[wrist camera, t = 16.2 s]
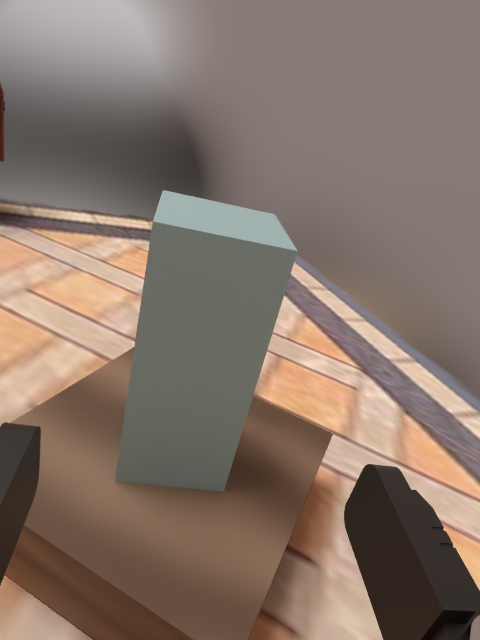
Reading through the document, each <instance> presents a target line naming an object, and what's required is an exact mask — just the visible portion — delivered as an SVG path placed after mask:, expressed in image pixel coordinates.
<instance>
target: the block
mask: <svg viewBox="0 0 480 640" xmlns="http://www.w3.org/2000/svg"><path fill="white" fill-rule="evenodd" d="M296 254H297V249H296V248H295V246H294V245H293V243H292V241H291V240H290V238H289V237H288V235H287V233H286V232H285V230H284V229H283V227H282V225H281V224H280V222H279V221H278V219H277V217H276V216H275V214H270V213H265V212H261V211H256V210H252V209H247V208H242V207H238V206H233V205H229V204H224V203H219V202H215V201H210V200H206V199H201V198H197V197H192V196H187V195H183V194H178V193H174V192H169V191H163V193H162V195H161V199H160V201H159V204H158V208H157V211H156V214H155V217H154V220H153V225H152V231H151V238H150V245H149V252H148V259H147V265H146V272H145V279H144V286H143V292H142V299H141V306H140V313H139V319H138V326H137V333H136V340H135V347H134V353H133V360H132V367H131V374H130V380H129V387H128V394H127V401H126V407H125V414H124V421H123V428H122V435H121V441H120V448H119V455H118V462H117V468H116V475H115V481H116V482H127V483H137V484H148V485H159V486H169V487H180V488H190V489H201V490H212V491H222V492H224V489H225V486H226V483H227V479H228V476H229V473H230V470H231V466H232V463H233V460H234V457H235V453H236V450H237V447H238V444H239V440H240V437H241V434H242V430H243V427H244V424H245V421H246V417H247V414H248V411H249V408H250V404H251V401H252V398H253V394H254V391H255V388H256V385H257V381H258V378H259V375H260V372H261V368H262V365H263V362H264V359H265V355H266V352H267V349H268V345H269V342H270V339H271V336H272V332H273V329H274V326H275V323H276V319H277V316H278V313H279V309H280V306H281V303H282V300H283V296H284V293H285V290H286V287H287V283H288V280H289V277H290V274H291V270H292V267H293V264H294V260H295V257H296Z"/></svg>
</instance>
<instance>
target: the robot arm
mask: <svg viewBox="0 0 480 640" xmlns="http://www.w3.org/2000/svg"><path fill="white" fill-rule="evenodd" d="M40 443H41V428H40V426H32V425H23V424H15V423H6V422H5V423H3V424H2V425H1V427H0V585H1V582H2V580H3V577H4V575H5V572H6V569H7V567H8V564H9V562H10V559H11V557H12V554H13V552H14V549H15V546H16V544H17V541H18V539H19V536H20V534H21V531H22V529H23V526H24V523H25V521H26V518H27V516H28V513H29V511H30V508H31V506H32V503H33V500H34V497H35V493H36V490H37V485H38V480H39V468H40ZM344 522H345V528H346V531H347V534H348V537H349V540H350V543H351V546H352V549H353V552H354V555H355V558H356V560H357V563H358V566H359V569H360V572H361V575H362V578H363V581H364V584H365V587H366V590H367V593H368V596H369V598H370V601H371V604H372V607H373V610H374V613H375V616H376V619H377V622H378V625H379V628H380V631H381V634H382V636H383V639H384V640H480V591H479V589H478V587H477V585H476V584H475V582H474V580H473V578H472V577H471V575H470V573H469V571H468V570H467V568H466V566H465V564H464V563H463V561H462V559H461V557H460V555H459V554H458V552H457V550H456V548H453V543H452V541H451V540H450V538H449V536H448V534H447V532H446V531H444V530H443V528H444V527H443V525H442V524H441V522H440V520H439V518H438V517H437V515H436V513H435V511H434V509H433V508H432V507H431V506H430V505H429V504H428V502H427V501H426V500H425V499H424V498H423V497H422V496H421V495H420V494H419V493H418V492H417V491H416V490H411V489H410V487H409V485H408V483H407V481H406V479H405V478H404V476H403V474H402V472H401V471H400V470H399V469H398V468H397V467H391V466H382V465H373V464H368V465H366V466H365V467H364V468H363V470H362V472H361V474H360V476H359V478H358V480H357V483H356V485H355V487H354V489H353V491H352V493H351V495H350V497H349V499H348V501H347V503H346V506H345V511H344Z"/></svg>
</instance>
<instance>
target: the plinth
mask: <svg viewBox="0 0 480 640" xmlns="http://www.w3.org/2000/svg"><path fill="white" fill-rule="evenodd" d="M133 353H134V348H132V349H130V350H129V351H127V352H126V353H124V354H122V355H121V356H119V357H117V358H116V359H114V360H112V361H111V362H109V363H108V364H106V365H104V366H103V367H101V368H99V369H98V370H96V371H94V372H93V373H91V374H90V375H88V376H86V377H85V378H83V379H81V380H80V381H78V382H76V383H75V384H73V385H72V386H70V387H68V388H67V389H65V390H63V391H62V392H60V393H58V394H57V395H55V396H54V397H52V398H50V399H49V400H47V401H45V402H44V403H42V404H40V405H39V406H37V407H36V408H34V409H32V410H31V411H29V412H27V413H26V414H24V415H23V416H21V417H19V418H18V419H16V420H14V421H13V422H11V423H15V424H23V425H32V426H40V428H41V443H40V468H39V480H38V485H37V490H36V493H35V497H34V500H33V503H32V506H31V508H30V511H29V513H28V516H27V518H26V521H25V523H24V526H23V529H22V531H21V534H20V536H19V539H18V541H17V544H16V546H15V549H14V552H13V554H12V557H11V559H10V562H9V564H8V567H7V569H6V572H5V575H6V576H8V577H9V578H10V579H12V580H13V581H14V582H16V583H17V584H18V585H20V586H21V587H23V588H24V589H25V590H27V591H28V592H29V593H31V594H32V595H33V596H35V597H36V598H38V599H39V600H40V601H42V602H43V603H44V604H46V605H47V606H49V607H50V608H51V609H53V610H54V611H55V612H57V613H58V614H59V615H61V616H62V617H64V618H65V619H66V620H68V621H69V622H70V623H72V624H73V625H75V626H76V627H77V628H79V629H80V630H81V631H83V632H84V633H85V634H87V635H88V636H90V637H91V638H92V639H94V640H248V638H249V636H250V633H251V631H252V628H253V626H254V624H255V621H256V619H257V616H258V614H259V612H260V609H261V607H262V604H263V602H264V599H265V597H266V595H267V592H268V590H269V587H270V585H271V583H272V580H273V578H274V575H275V573H276V570H277V568H278V566H279V563H280V561H281V558H282V556H283V553H284V551H285V549H286V546H287V544H288V541H289V539H290V537H291V534H292V532H293V529H294V527H295V524H296V522H297V520H298V517H299V515H300V512H301V510H302V508H303V505H304V503H305V500H306V498H307V495H308V493H309V491H310V488H311V486H312V483H313V481H314V479H315V476H316V474H317V471H318V469H319V466H320V464H321V462H322V459H323V457H324V454H325V452H326V449H327V447H328V445H329V442H330V440H331V437H332V435H333V434H332V433H330V432H328V431H326V430H323V429H321V428H319V427H317V426H315V425H313V424H311V423H309V422H307V421H304V420H302V419H300V418H298V417H296V416H294V415H292V414H290V413H288V412H285V411H283V410H281V409H279V408H277V407H275V406H273V405H271V404H269V403H266V402H264V401H262V400H260V399H258V398H256V397H254V396H253V398H252V401H251V404H250V408H249V411H248V414H247V417H246V421H245V424H244V427H243V430H242V434H241V437H240V440H239V444H238V447H237V450H236V453H235V457H234V460H233V463H232V466H231V470H230V473H229V476H228V479H227V483H226V486H225V489H224V492H222V491H212V490H201V489H190V488H180V487H169V486H159V485H148V484H137V483H127V482H116V481H115V475H116V468H117V462H118V455H119V448H120V441H121V435H122V428H123V421H124V414H125V407H126V401H127V394H128V387H129V380H130V374H131V367H132V360H133Z"/></svg>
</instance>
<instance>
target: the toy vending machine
mask: <svg viewBox="0 0 480 640" xmlns="http://www.w3.org/2000/svg"><path fill="white" fill-rule="evenodd" d="M4 110H5V103H4V94H3V90H2V87H1V84H0V161H4Z"/></svg>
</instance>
